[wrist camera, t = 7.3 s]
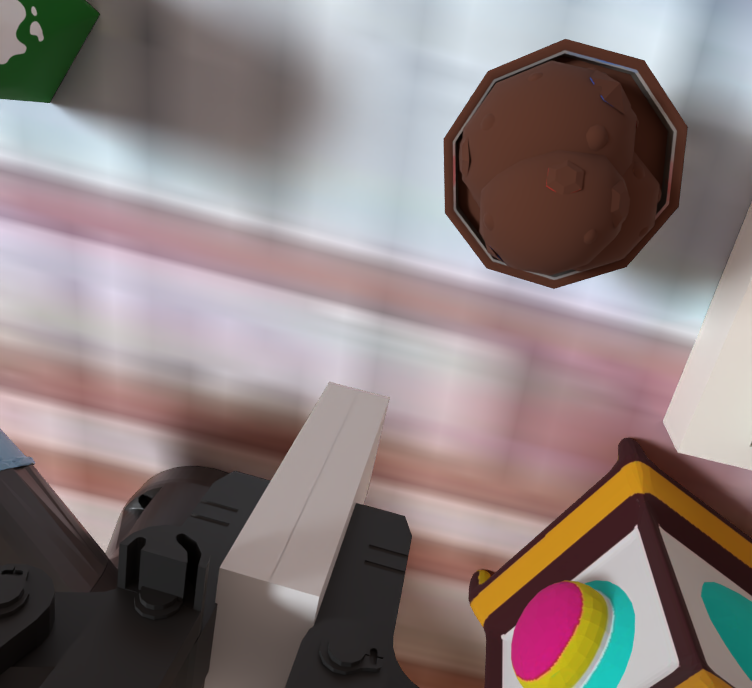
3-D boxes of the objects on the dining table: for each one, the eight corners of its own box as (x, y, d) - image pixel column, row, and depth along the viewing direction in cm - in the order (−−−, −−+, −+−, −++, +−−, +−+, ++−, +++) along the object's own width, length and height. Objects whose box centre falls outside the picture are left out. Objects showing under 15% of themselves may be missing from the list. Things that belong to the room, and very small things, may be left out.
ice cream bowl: (665, 207, 37) (757, 272, 24) (484, 265, 41) (473, 351, 27) (621, 23, 34) (696, -25, 21) (430, 102, 38) (386, 106, 24)
